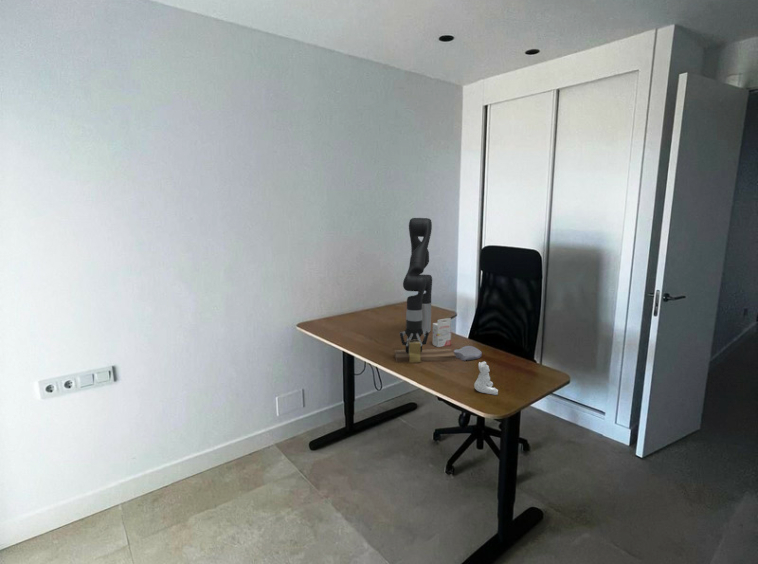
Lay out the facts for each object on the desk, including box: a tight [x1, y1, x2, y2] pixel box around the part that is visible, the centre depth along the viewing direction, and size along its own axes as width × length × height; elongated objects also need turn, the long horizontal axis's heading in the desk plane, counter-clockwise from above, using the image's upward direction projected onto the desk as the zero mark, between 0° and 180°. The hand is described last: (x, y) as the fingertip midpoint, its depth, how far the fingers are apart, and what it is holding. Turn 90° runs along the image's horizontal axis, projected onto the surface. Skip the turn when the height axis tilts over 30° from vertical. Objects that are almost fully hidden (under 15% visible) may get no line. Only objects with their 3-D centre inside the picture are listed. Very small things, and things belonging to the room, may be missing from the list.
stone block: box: [453, 345, 483, 362], centre depth 205 cm, size 12×5×10 cm
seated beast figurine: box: [473, 360, 499, 396], centre depth 167 cm, size 10×9×12 cm
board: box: [394, 348, 457, 363], centre depth 203 cm, size 10×28×2 cm, turn 94°
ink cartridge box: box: [432, 317, 452, 348], centre depth 221 cm, size 9×5×15 cm, turn 115°
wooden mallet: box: [408, 339, 421, 364], centre depth 203 cm, size 15×5×9 cm, turn 4°
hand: (413, 352), depth 200 cm, fingers closed on wooden mallet, 5 cm apart
